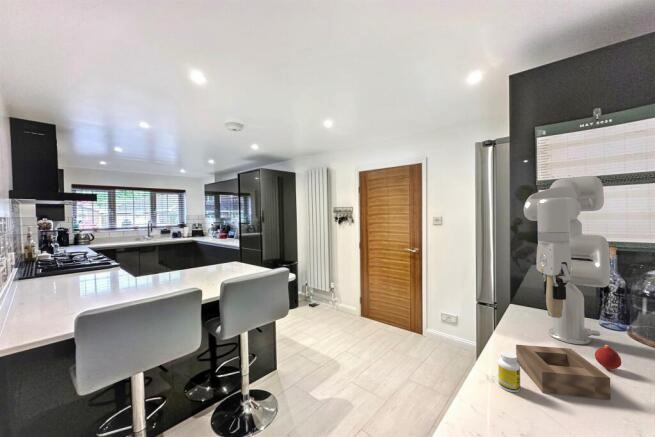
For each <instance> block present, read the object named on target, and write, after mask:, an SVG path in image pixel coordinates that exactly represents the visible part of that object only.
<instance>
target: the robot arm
mask: <svg viewBox="0 0 655 437" xmlns="http://www.w3.org/2000/svg"><path fill="white" fill-rule="evenodd" d="M604 194H605V193H604V185H603V183H602V180H601V179H600V178H599V177H598V176H596V175H582V176H571V177H563V178H559V179H557V180H555V181H554V182H552V184H551V185H550V187H549V188H547V189H544V190H542V191H538V192H535V193H533V194H531V195H529V197H528V198H527V199H526V201H525V202H524V206H523V215H524V217H525V218H526V219H527V220H528V221H533V222H534V221H535V222H537V242H538V243H537V247H536V261H535V262H536V270H537V272H539V273H541V275H542V281H543V294H544V295H545V296H546V290H547V275H549V276H553V281H554V286H552V292H553V299H558V300H563V310H562V312H561V313H562V317H560V318H555V317H552V328H549V329H548V330H547V332H548V335H549V336H550V337H551V338H554V339H555V340H558V341H561V342H564V343H568V344H573V345H588V344H591V338H590V336H595V337H597V336H598V337H599V336H601V333H600V331H599V330H593V329H592V330H591V328H586V327H585V298H584V294H583V292H582V290H580V289H579V288H578V287H577V286H587V287H595V288H606V287H607V286H608V285H609V284H610V282H611V262H610V260H611V259H610V258H611V257H610V245H609V241H608V239H607V238H606V237H605V236H603V235H599V234H583V224H582V222H581V221H580V220H579V219H578V218H577V217H579V215H580V214H581V212H597V211H600V210H601V209H602V208H603V207H604V203H605V196H604ZM572 258H576V259H572ZM577 258H578V259H577ZM579 259H589V260H591V261H589V260H579ZM540 267H542V268H544V272H541V268H540ZM561 273H562V276H556V275H558V274H561ZM546 274H547V275H546ZM557 278H561V279H559V280H558V279H557ZM576 285H577V286H576Z"/></svg>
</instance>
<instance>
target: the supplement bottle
mask: <svg viewBox="0 0 655 437" xmlns="http://www.w3.org/2000/svg"><path fill="white" fill-rule="evenodd" d="M497 362H498V363H497V368H498V370H497V373H498V375H497V376H498V377H497V379H498V380H497V381H498V386H499V387H500V388H502V389H503V390H505V391H507V392H511V393H519V392H520V391H521V367H520V365H519V364H518V363H517V355H516V353H514V352H512V351H508V350H503V351H501V352H500V358H499V359H498V360H497Z"/></svg>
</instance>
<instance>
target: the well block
mask: <svg viewBox="0 0 655 437" xmlns="http://www.w3.org/2000/svg"><path fill="white" fill-rule="evenodd" d="M515 354H516V355H517V363H518V364H519V365H520V369H521V370H523V372H524V373H525V374H526V375H527V376H528V377H529V379H530V380H531V381H532V382H533V383H534V384H535V386H537V388H538V389H539V390H540V391H541V393H543V394H545V393H546V394H554V395H562V396H571V397H573V396H574V397H582V398H591V399H600V400H601V399H602V400H609V401H611V394H612V393H611V377H609V375H607V374H605V373H604V372H603V371H601V370H600V369H599V368H598V367H596V366H595V365H594V364H592V363H591V362H590V361H589V360H587V359H586V358H584V357H583V356H582V355H580V354H579V353H578V352H576V351H575V350H573V349H572V348H570V347H569V348H567V347H556V346H555V347H554V346H542V345H541V346H540V345H528V344H527V345H526V344H525V345H524V344H515Z"/></svg>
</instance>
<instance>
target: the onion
mask: <svg viewBox="0 0 655 437" xmlns="http://www.w3.org/2000/svg"><path fill="white" fill-rule="evenodd" d="M594 358H595V360H596V362H597V363H598V364H600V365H601V366H602V367H603V369H605V370H607V371H613V370H617V369H618V368H620V366H622V359H621V357H620V355H619V354H618V352H617V351H615V350H614V349H612V348H611V346H609V345H608V344H603V346H602V347H599V348H598V349H597V350H595V352H594Z"/></svg>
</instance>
